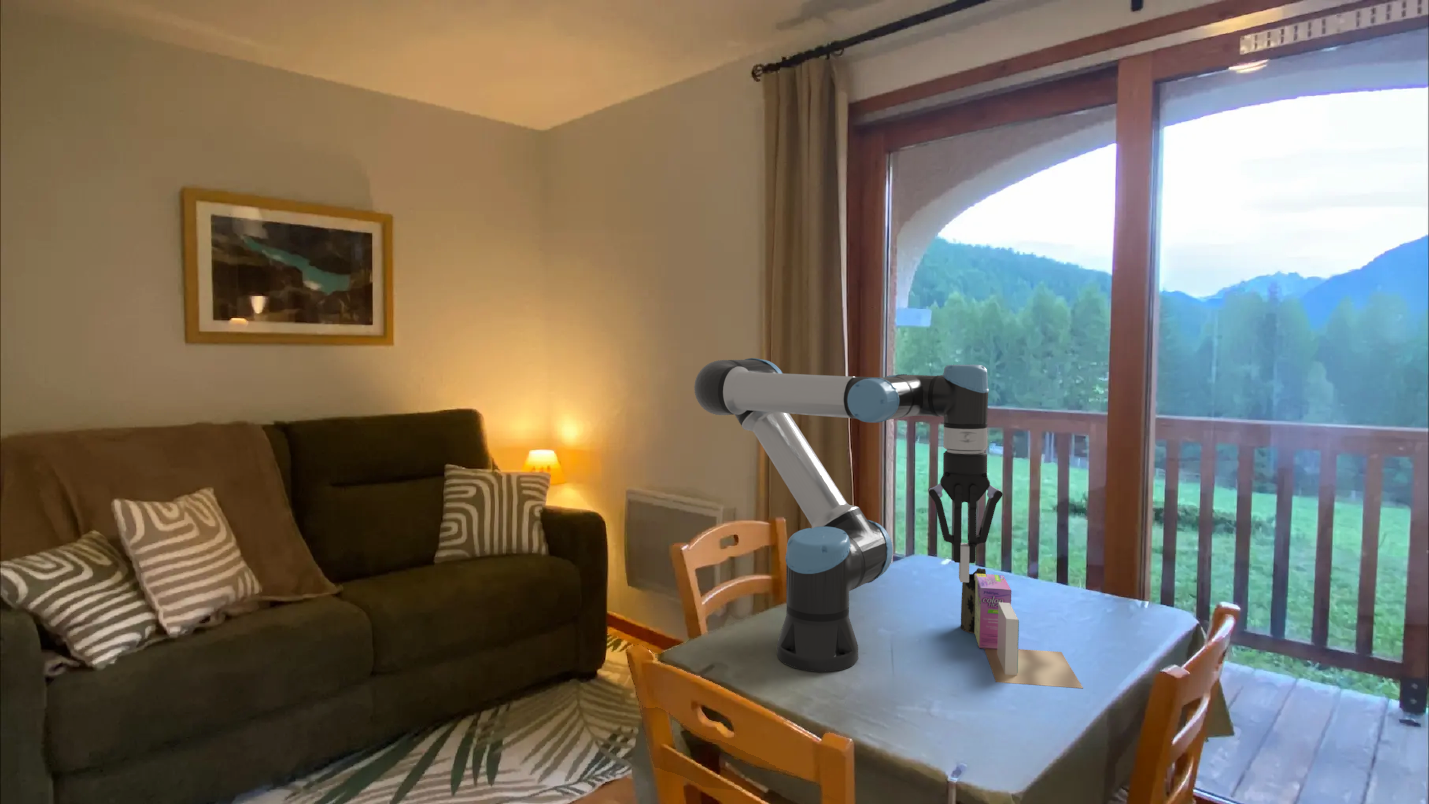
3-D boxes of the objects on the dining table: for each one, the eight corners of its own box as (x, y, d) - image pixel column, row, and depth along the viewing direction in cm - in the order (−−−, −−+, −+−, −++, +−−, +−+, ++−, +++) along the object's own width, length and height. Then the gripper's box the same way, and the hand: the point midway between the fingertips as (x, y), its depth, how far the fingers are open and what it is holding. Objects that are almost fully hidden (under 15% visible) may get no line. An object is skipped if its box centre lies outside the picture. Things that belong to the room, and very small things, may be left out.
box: (1010, 650, 151) (1011, 589, 150) (978, 648, 152) (979, 587, 151) (1002, 632, 161) (1003, 574, 160) (973, 630, 162) (973, 573, 162)
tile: (1005, 674, 140) (1006, 618, 140) (997, 654, 149) (998, 602, 148) (1017, 675, 140) (1019, 619, 139) (1009, 655, 149) (1010, 602, 148)
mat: (996, 684, 137) (996, 681, 137) (983, 649, 153) (983, 646, 153) (1083, 691, 135) (1083, 688, 135) (1061, 654, 150) (1061, 651, 150)
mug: (984, 637, 159) (985, 577, 158) (956, 632, 162) (957, 573, 161) (995, 626, 165) (996, 569, 164) (968, 621, 168) (969, 565, 168)
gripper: (929, 453, 141) (928, 584, 142) (1006, 454, 138) (1005, 588, 140) (926, 447, 148) (925, 572, 150) (1000, 448, 145) (998, 575, 147)
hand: (963, 579), depth 145 cm, fingers closed
